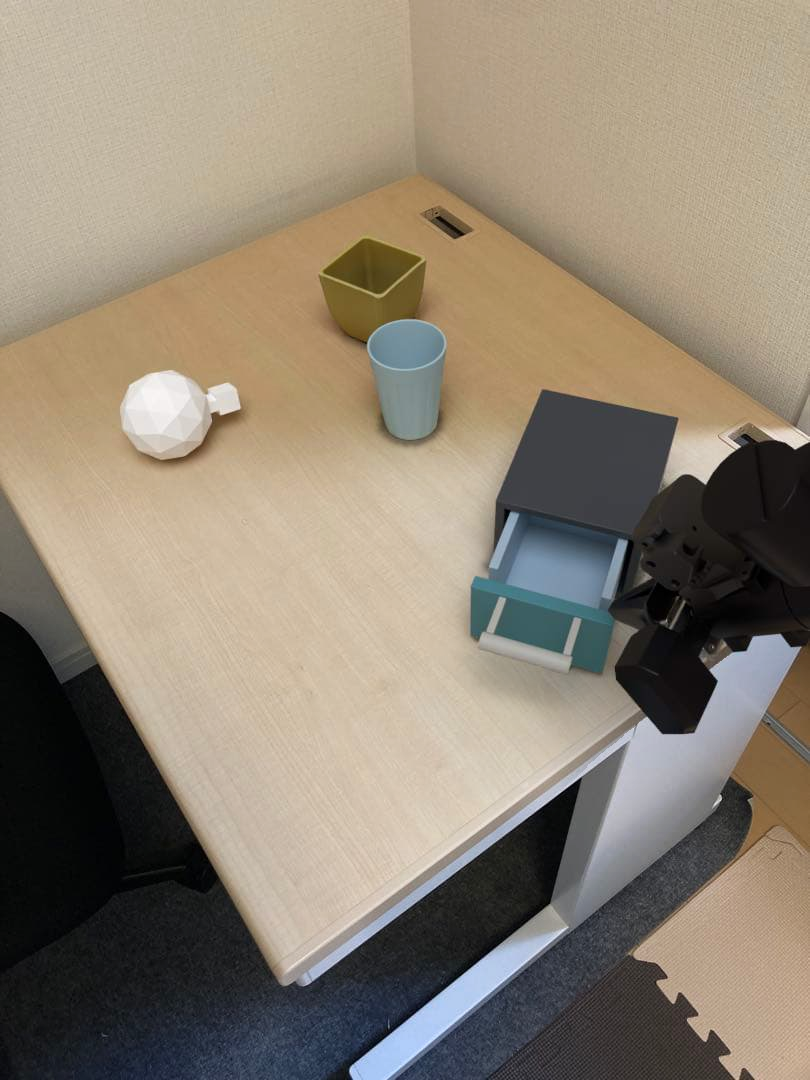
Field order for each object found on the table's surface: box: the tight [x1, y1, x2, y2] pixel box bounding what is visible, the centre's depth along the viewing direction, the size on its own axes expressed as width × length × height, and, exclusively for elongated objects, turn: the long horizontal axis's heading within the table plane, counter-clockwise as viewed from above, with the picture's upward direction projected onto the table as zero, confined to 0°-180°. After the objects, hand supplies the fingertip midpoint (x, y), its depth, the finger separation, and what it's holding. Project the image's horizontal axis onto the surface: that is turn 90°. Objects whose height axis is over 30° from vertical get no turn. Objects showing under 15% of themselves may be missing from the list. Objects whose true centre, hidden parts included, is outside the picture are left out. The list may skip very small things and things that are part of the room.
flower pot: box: [317, 234, 427, 344], centre depth 102 cm, size 9×9×9 cm
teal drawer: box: [469, 510, 631, 676], centre depth 76 cm, size 18×11×8 cm, turn 159°
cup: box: [366, 318, 448, 441], centre depth 92 cm, size 8×8×10 cm
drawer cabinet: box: [493, 388, 679, 599], centre depth 82 cm, size 15×13×9 cm
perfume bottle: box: [119, 369, 242, 461], centre depth 92 cm, size 9×9×12 cm
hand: (612, 611), depth 66 cm, fingers closed
